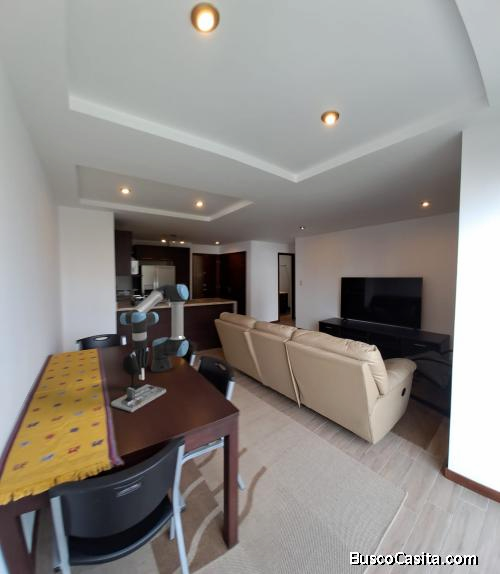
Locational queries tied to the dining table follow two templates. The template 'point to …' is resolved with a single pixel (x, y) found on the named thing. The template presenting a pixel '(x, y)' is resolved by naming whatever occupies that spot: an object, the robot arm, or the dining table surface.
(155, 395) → the console
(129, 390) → the fader knob
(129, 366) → the wine glass
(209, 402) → the dining table surface
